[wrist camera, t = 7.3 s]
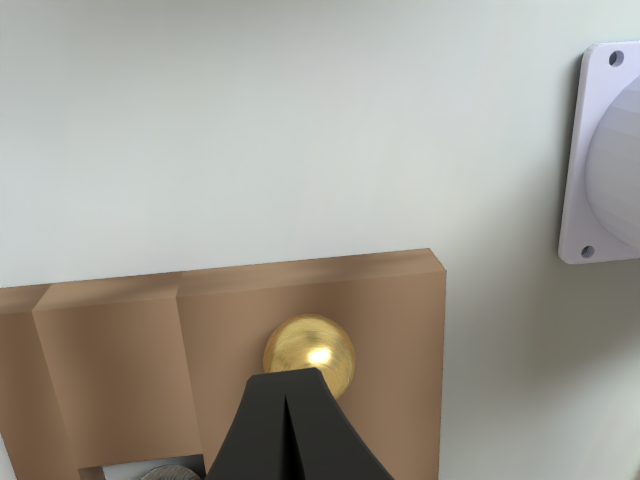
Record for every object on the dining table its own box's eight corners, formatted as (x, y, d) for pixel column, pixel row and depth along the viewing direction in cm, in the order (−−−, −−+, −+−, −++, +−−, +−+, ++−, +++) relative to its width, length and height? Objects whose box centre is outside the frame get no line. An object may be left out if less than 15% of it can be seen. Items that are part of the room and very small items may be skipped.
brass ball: (346, 293, 19) (362, 341, 16) (349, 366, 20) (364, 423, 17) (258, 302, 19) (259, 352, 16) (266, 375, 20) (268, 434, 17)
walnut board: (429, 248, 21) (446, 270, 19) (420, 575, 28) (432, 615, 26) (-12, 289, 19) (-40, 317, 18) (95, 622, 26) (83, 667, 24)
